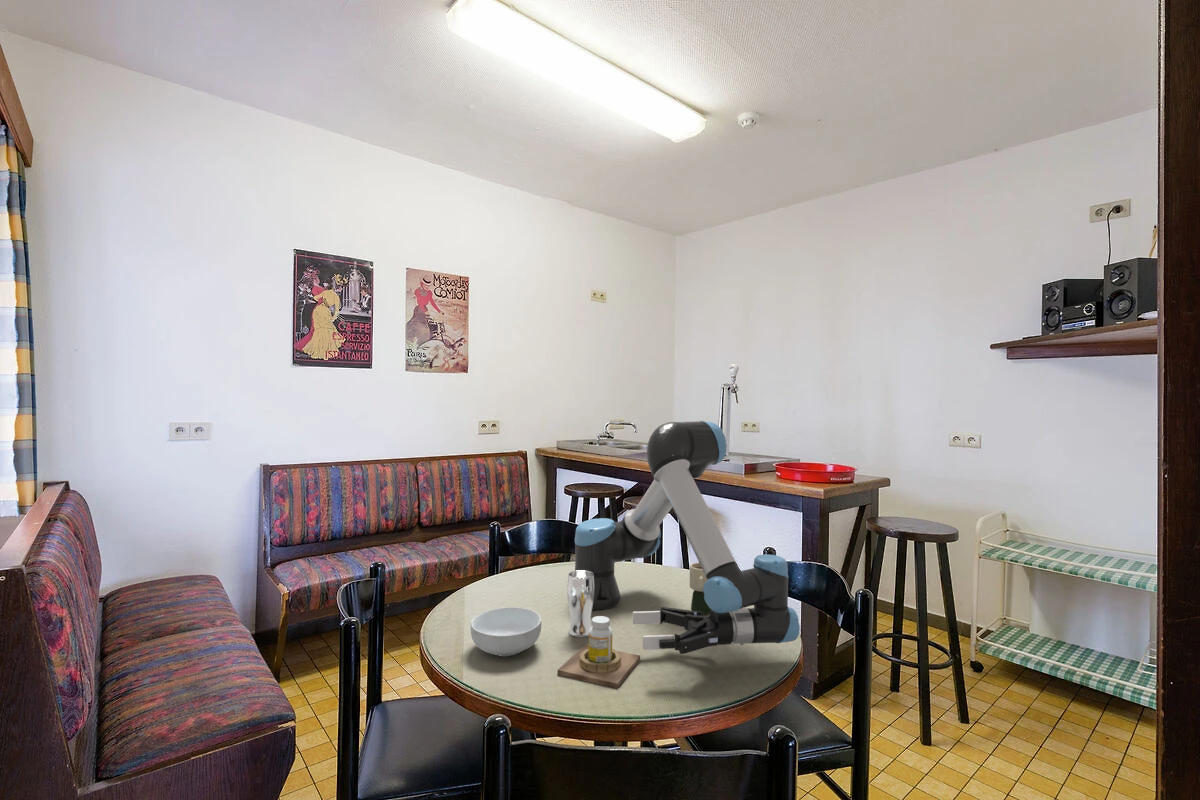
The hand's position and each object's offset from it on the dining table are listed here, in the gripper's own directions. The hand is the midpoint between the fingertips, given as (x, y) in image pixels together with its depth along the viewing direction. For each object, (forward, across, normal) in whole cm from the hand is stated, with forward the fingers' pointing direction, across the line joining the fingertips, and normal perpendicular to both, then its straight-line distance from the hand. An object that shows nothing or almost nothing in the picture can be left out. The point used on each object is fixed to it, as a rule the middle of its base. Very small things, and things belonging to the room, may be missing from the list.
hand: (637, 629), depth 128 cm
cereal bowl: (+30, +11, -8) cm, 33 cm away
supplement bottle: (+8, 0, -7) cm, 11 cm away
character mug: (-24, +30, -8) cm, 39 cm away
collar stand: (+8, 0, -8) cm, 12 cm away
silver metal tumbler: (+11, +19, -8) cm, 24 cm away
